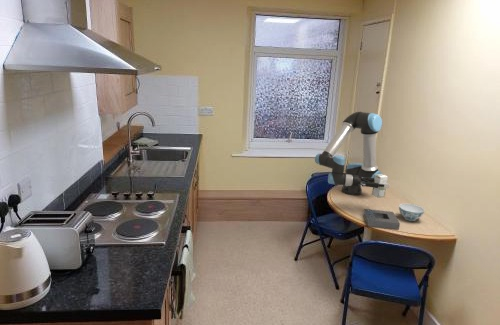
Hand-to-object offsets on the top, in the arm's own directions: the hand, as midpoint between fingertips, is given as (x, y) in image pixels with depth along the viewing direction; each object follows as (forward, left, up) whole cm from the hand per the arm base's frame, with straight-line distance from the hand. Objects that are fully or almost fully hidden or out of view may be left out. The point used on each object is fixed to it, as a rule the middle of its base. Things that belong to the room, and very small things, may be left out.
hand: (387, 184), depth 225 cm
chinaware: (+5, +15, -21) cm, 26 cm away
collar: (+15, -5, -21) cm, 26 cm away
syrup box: (0, -5, -9) cm, 10 cm away
